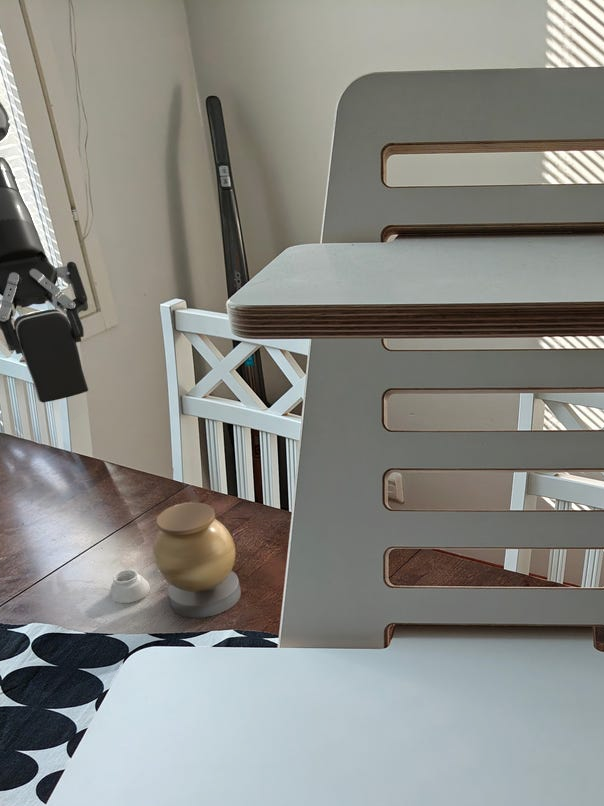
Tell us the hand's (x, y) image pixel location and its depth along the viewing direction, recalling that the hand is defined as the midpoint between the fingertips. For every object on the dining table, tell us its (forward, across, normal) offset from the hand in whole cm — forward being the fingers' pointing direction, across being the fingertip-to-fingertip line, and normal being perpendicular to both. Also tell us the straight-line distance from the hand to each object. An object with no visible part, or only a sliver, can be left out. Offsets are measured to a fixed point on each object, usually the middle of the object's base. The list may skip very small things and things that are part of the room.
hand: (49, 345), depth 130 cm
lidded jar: (+40, +7, -3) cm, 40 cm away
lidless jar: (+35, -1, +2) cm, 35 cm away
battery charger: (+4, 0, +6) cm, 8 cm away
